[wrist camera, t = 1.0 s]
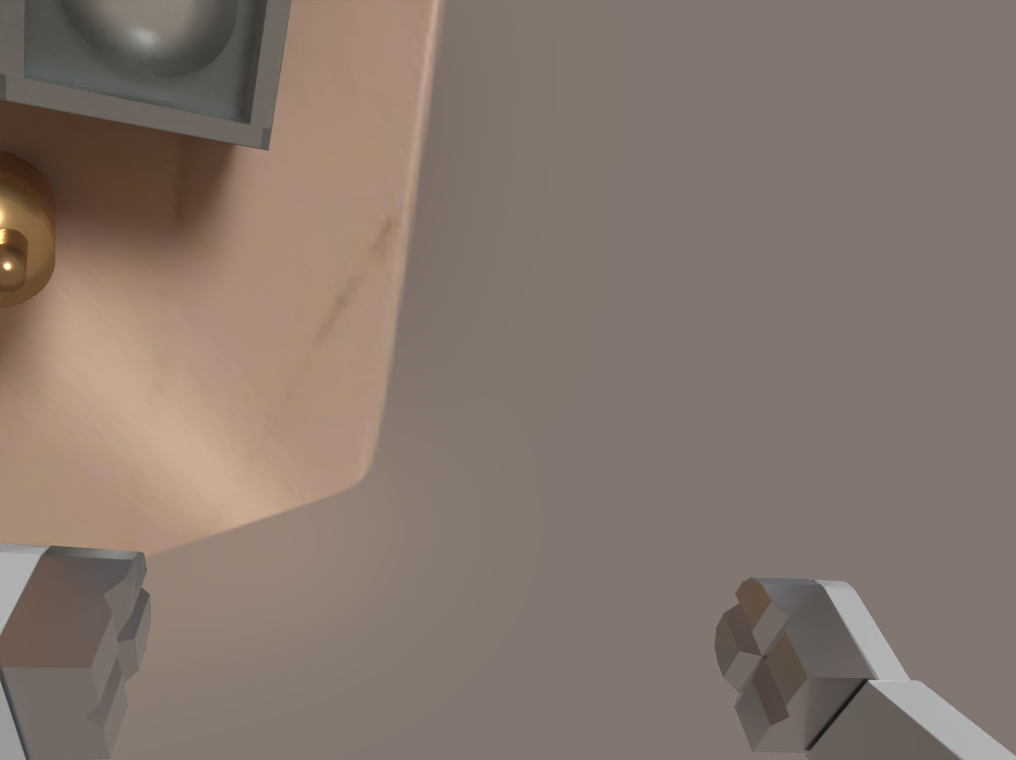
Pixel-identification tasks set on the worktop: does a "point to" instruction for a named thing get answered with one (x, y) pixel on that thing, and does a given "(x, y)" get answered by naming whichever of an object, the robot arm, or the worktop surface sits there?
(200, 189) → the worktop surface
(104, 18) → the grey square box
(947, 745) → the robot arm
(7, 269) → the spout can
